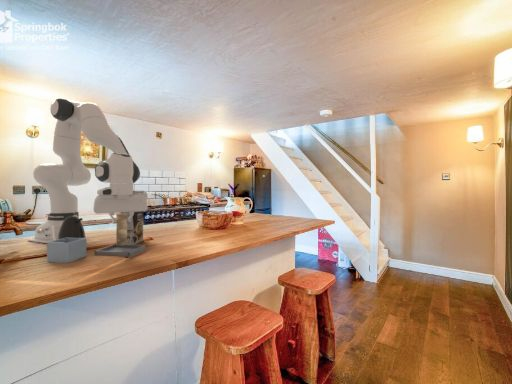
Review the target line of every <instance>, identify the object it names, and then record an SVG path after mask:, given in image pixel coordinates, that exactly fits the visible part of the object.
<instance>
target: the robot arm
mask: <svg viewBox="0 0 512 384" xmlns="http://www.w3.org/2000/svg"><path fill="white" fill-rule="evenodd" d="M49 109H50V114H51V115H52V117H53V118H54V119H55V120H57V121H56V123H55V128H54V133H53V134H54V135H53V145H52V151H53V153H54V154H55V155H56V156H58V157H60V159H61V161H62V163H41V164H38V165H37V166H36V167H35V168H34V170H33V173H32V174H33V178H34V180H35V182H36V183H38V184H39V185H41V186H42V187H43V188H44V190H46V192H47V194H48V198H49V202H50V204H49V205H50V213H47V214H45V217H47V220H45V221H44V222H43V223H41V224H40V225H38V226H37V227H35V230H34V236H33V237H29V238H27V241H28V242H33V243H34V242H35V243H42V244H43V243H44V244H47V242H50V241H54V240H57V239H58V234H59V230H60V227H61V225H62V223H63V221H64V220H65V219H66V218H67V217H69V216H76V217H78V218H79V217H80V216H79V215H80V214H79V210H78V205H79V204H78V196H76V194H74V193H71V191H70V190H69V188H68V186H70V187H71V186H74V187H79V186H82V185H86V184H89V183H90V181H91V179H92V177H91V176H92V173H91V171H90V170H89V168H88V167H86V166H85V164H84V162H83V159H82V156H81V148H82V147H81V144H82V134H83V135H84V137H85V139H87V140H88V141H90V142H91V143H93V144H97V145H99V146H101V147H104V148H105V149H106V148H107V149H108V150H110V151H111V152H112V153H111V155H110V156H109V157H108V158H107V159H106V160H101V161H99V162H98V163H97V164H96V165H95V167H94V176H95V178H96V179H97V180H98V181H100V182H101V183H104V184H105V183H106V184H107V183H109V186H108V187H104V188H100V189H97V191H96V193H97V196H96V197H95V198H94V202H93V213H95V214H97V215H98V214H109V217H110V218H111V220H112V221H111V223H112V224H116V223H117V219H116V218H115V217H114V216H115V213H116V214H120V213H123V212H129V214H130V216H129V218H127V222H131V218H132V216H133V215H134V212H139V211H143V212H146V211H147V210H148V201H147V200H148V193H147V192H146V191H144V190H134V184H135V183H136V182H137V181H138V180H139V179H140V176H141V171H140V168H139V166H138V165H137V164H136V162H135V161H134V160H133V156H131V155H130V153H129V151H128V149H127V148H126V145H125V144H124V142H123V141H122V139H121V137H119V135H117V134H116V133H115V132H114V131H113V129H112V128H111V127H110V125H109V123H108V121H107V118H106V116H105V114H104V112H103V111H102V109H101V108H100V106H98V105H97V104H96V103H94V102H87V101H86V102H80V101H75V100H70V99H67V98H64V97H57V98H55V99H53V100H52V101H51V104H50V108H49ZM79 219H80V218H79Z"/></svg>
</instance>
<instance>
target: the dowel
mask: <svg viewBox="0 0 512 384" xmlns="http://www.w3.org/2000/svg"><path fill="white" fill-rule="evenodd" d="M115 219H117V223H115V224H116V225H115V226H116V228H115V229H116V231H115V232H116V238H115V239H116V241H115V244H116V245H126V244H127V214H123V213H116V218H115Z"/></svg>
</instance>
